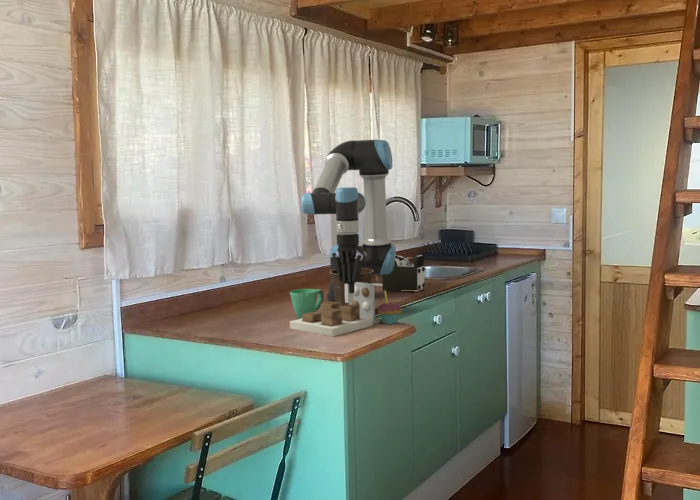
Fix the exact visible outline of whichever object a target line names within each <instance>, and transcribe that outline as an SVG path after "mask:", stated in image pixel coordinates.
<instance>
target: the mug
mask: <svg viewBox="0 0 700 500" xmlns="http://www.w3.org/2000/svg"><path fill="white" fill-rule="evenodd" d="M289 294H290V298H291V303H292V306H293V310H294V312H295V315H296V317H297V320H298V319H302V314H304V313H309V312H317V311H319V309H320V308H321V303H323V301H324V292H323V290H322V289H320V288H318V289H317V288H316V289H315V288H299V289H293V290H290V291H289ZM317 295H318V296H317Z"/></svg>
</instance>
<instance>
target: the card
mask: <svg viewBox="0 0 700 500" xmlns="http://www.w3.org/2000/svg"><path fill="white" fill-rule="evenodd" d="M354 287H355V288H354V290H355V292H354V293H353V299H354V302H351V303H349V304H351V305H358V306H359V309H360V317H366V318H373V325H377V324H380V323H381V319H376V304H375V303H376V302H375V300H376V299H375V286H374V284H369V283H361V282H355V284H354Z"/></svg>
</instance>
